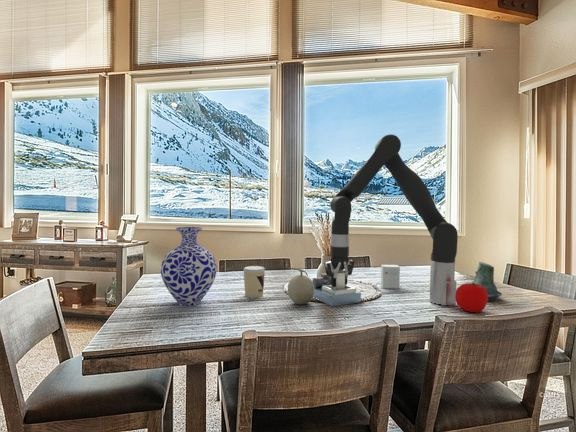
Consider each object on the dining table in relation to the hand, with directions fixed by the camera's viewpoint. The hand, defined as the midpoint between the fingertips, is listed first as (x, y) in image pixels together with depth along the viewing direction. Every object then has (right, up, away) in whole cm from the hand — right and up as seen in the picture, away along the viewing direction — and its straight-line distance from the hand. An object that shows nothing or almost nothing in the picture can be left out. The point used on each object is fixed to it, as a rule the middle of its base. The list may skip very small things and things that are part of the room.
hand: (339, 285), depth 157 cm
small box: (+28, -6, +26) cm, 39 cm away
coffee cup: (-36, -6, +8) cm, 37 cm away
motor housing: (-2, -6, +3) cm, 7 cm away
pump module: (0, -1, 0) cm, 1 cm away
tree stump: (+61, -7, +10) cm, 63 cm away
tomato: (+49, -8, -11) cm, 51 cm away
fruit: (-16, -7, -4) cm, 18 cm away
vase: (-61, -6, -5) cm, 61 cm away
